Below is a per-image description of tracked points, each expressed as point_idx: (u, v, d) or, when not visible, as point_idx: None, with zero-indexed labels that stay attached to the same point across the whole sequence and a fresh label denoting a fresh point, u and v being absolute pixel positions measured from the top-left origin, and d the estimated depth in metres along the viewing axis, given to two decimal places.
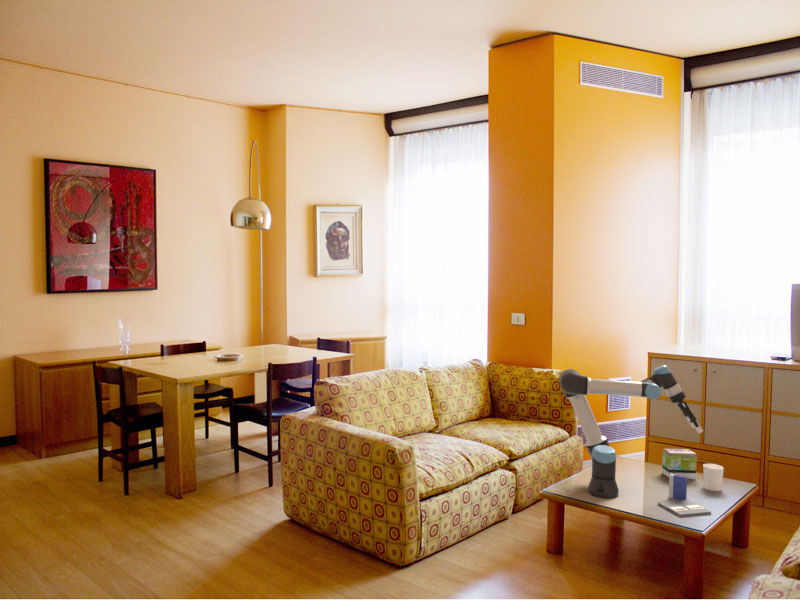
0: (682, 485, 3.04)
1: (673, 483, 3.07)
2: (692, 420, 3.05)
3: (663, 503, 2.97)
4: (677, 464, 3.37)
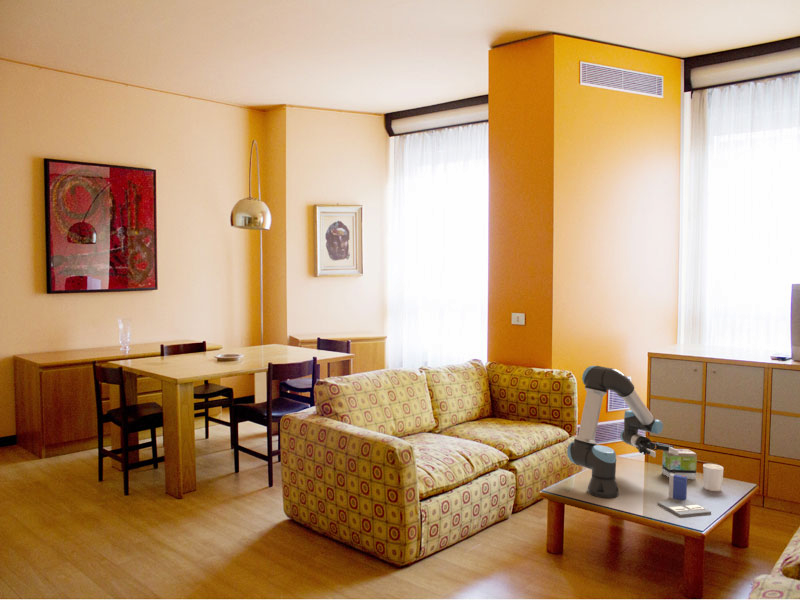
0: (682, 485, 3.04)
1: (673, 483, 3.07)
2: None
3: (663, 503, 2.97)
4: (677, 464, 3.37)
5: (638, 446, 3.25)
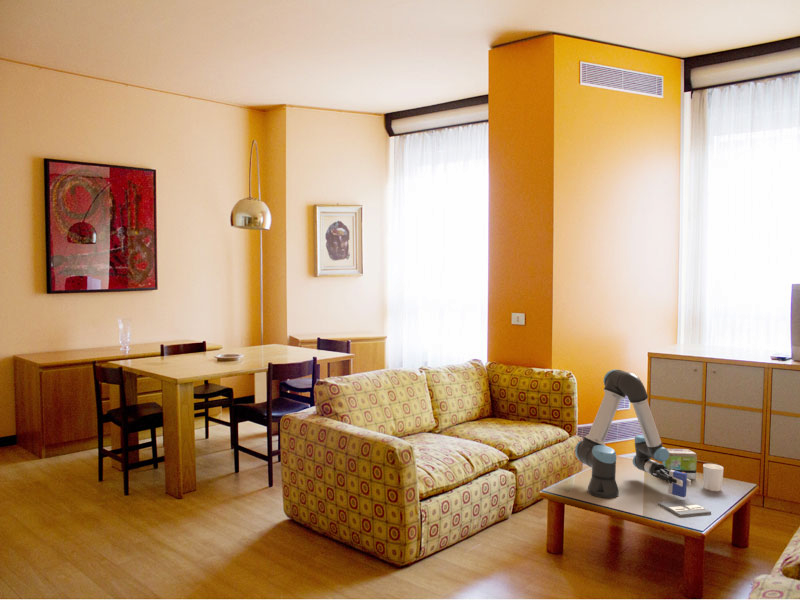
0: None
1: None
2: None
3: (663, 503, 2.97)
4: (677, 464, 3.37)
5: (659, 474, 3.12)
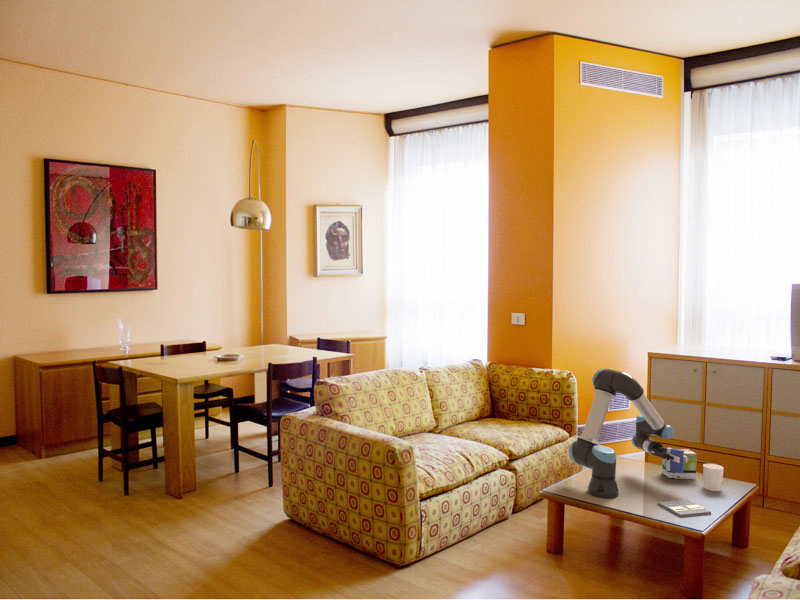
0: None
1: None
2: None
3: (663, 503, 2.97)
4: None
5: (657, 452, 3.24)
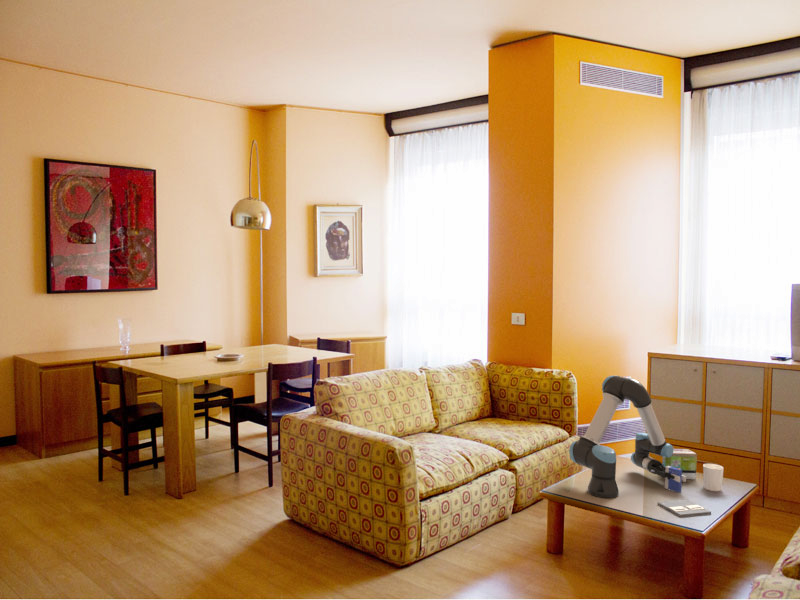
0: None
1: None
2: None
3: (663, 503, 2.97)
4: (677, 464, 3.37)
5: (657, 471, 3.24)
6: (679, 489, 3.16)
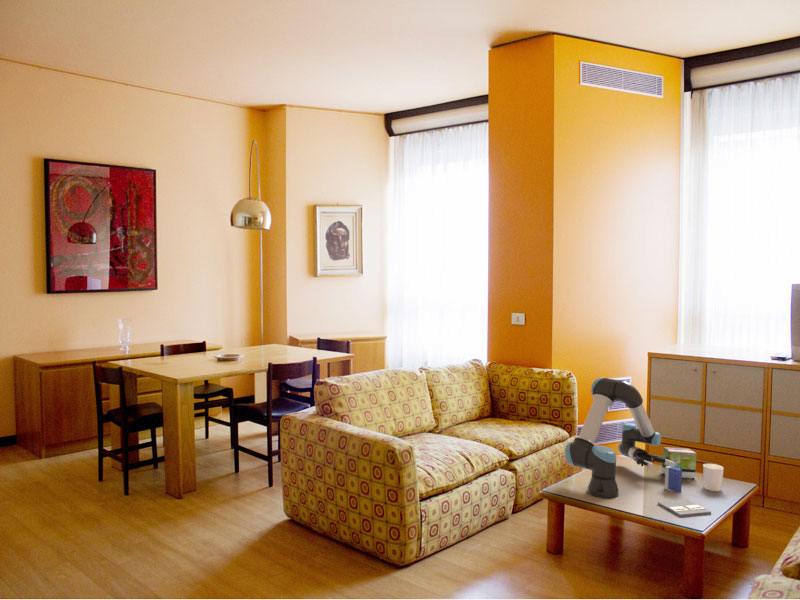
0: (676, 477, 3.17)
1: (668, 475, 3.20)
2: (669, 459, 3.39)
3: (663, 503, 2.97)
4: (676, 462, 3.38)
5: (636, 458, 3.39)
6: (679, 489, 3.16)
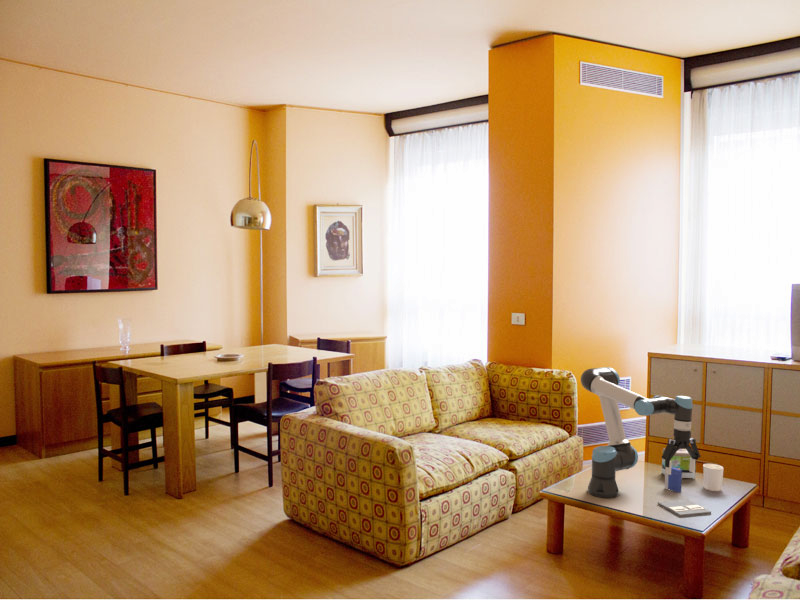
0: (676, 477, 3.17)
1: (668, 475, 3.20)
2: (662, 457, 2.87)
3: (663, 503, 2.97)
4: (677, 463, 3.37)
5: None
6: (679, 489, 3.16)
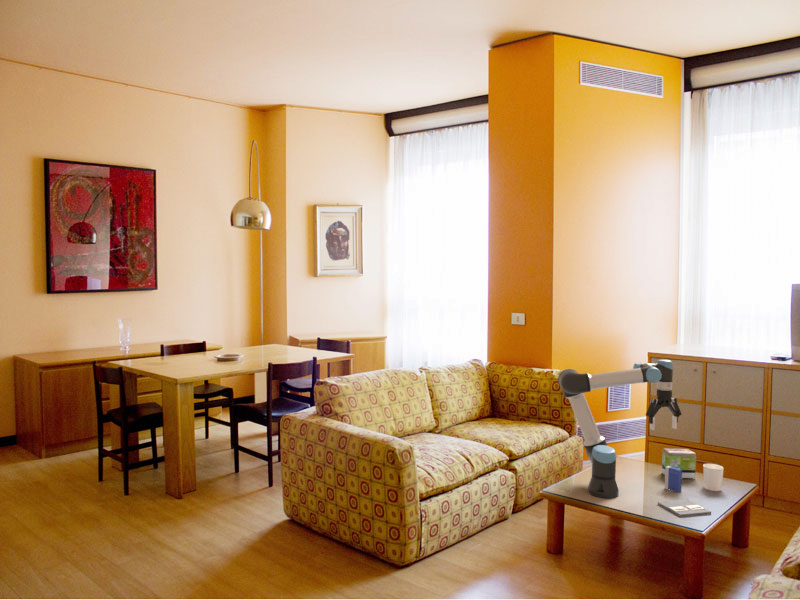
0: (676, 477, 3.17)
1: (668, 475, 3.20)
2: (646, 415, 3.19)
3: (663, 503, 2.97)
4: (677, 463, 3.37)
5: None
6: (679, 489, 3.16)
